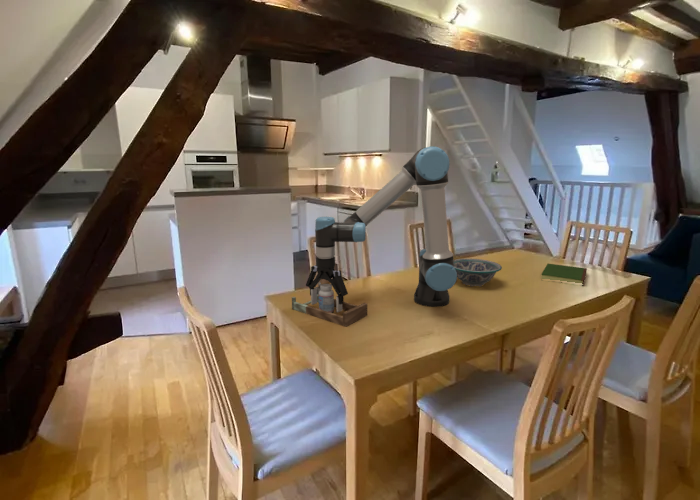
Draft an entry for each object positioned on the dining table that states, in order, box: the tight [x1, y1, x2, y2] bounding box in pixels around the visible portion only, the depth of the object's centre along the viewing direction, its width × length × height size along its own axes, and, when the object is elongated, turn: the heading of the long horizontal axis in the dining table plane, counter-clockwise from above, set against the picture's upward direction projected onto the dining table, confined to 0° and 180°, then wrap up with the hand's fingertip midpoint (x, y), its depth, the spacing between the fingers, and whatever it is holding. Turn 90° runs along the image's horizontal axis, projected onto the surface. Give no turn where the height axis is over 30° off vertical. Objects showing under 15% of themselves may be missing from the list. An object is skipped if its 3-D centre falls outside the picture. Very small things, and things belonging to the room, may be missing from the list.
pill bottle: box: [318, 283, 335, 313], centre depth 159 cm, size 6×6×11 cm
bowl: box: [454, 258, 503, 287], centre depth 195 cm, size 25×25×10 cm
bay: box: [291, 281, 368, 327], centre depth 161 cm, size 30×18×7 cm, turn 52°
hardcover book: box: [540, 263, 588, 284], centre depth 205 cm, size 25×19×4 cm
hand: (326, 307), depth 160 cm, fingers open, 13 cm apart
